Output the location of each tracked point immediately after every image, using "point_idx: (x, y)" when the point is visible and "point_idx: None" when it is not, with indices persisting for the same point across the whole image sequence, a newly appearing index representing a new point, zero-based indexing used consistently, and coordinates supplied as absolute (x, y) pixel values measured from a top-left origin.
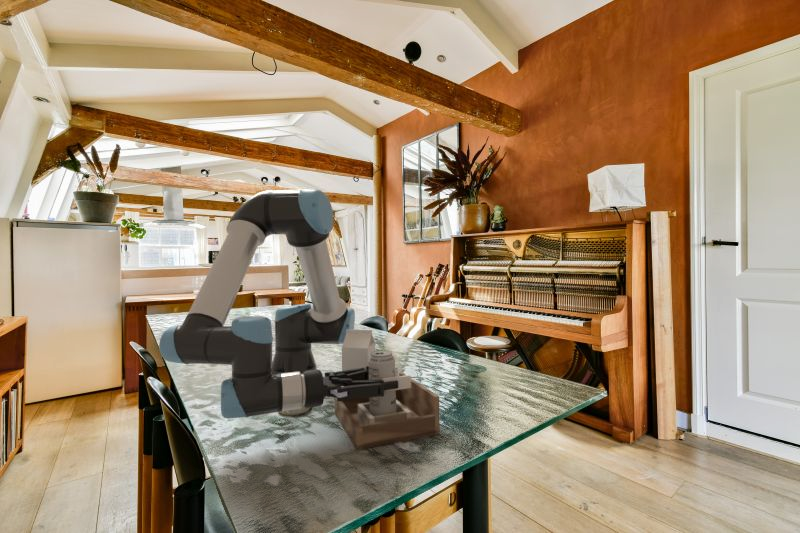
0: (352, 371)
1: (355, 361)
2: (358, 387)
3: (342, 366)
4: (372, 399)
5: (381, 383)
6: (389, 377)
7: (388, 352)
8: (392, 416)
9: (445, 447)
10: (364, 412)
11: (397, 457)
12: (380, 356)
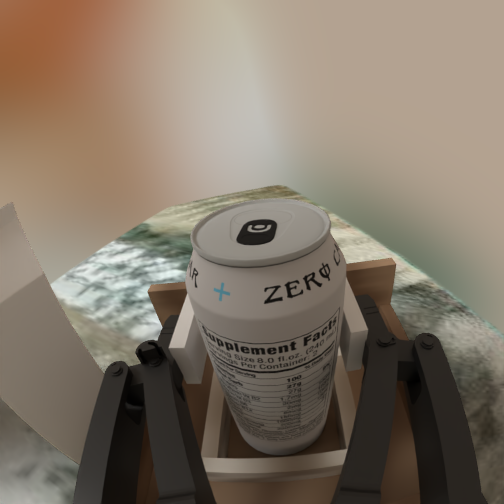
0: (117, 427)
1: (29, 355)
2: (470, 443)
3: (6, 401)
4: (301, 426)
5: (432, 340)
6: (345, 306)
7: (263, 206)
8: (350, 394)
9: (435, 330)
10: (295, 470)
11: (476, 411)
12: (328, 233)
